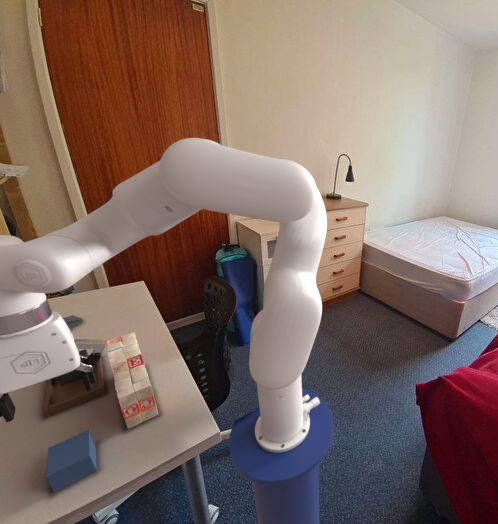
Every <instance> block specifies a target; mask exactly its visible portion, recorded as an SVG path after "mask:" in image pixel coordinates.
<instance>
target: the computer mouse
mask: <svg viewBox="0 0 498 524" xmlns="http://www.w3.org/2000/svg"><path fill="white" fill-rule="evenodd" d="M62 318H63V320H64V321H65V323H66V324H67V326H68V328H69V329H70V330H71V329H73V328H76V327H77V326H79V325H80V324H82V323H83V321H84V320H83V318H82V317H80V316H75V315H70V316H66V317H62Z"/></svg>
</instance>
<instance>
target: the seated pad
mask: <svg viewBox="0 0 498 524" xmlns="http://www.w3.org/2000/svg"><path fill="white" fill-rule="evenodd" d="M79 355H81V356H84V357H87V358H88V357H89V355H90V354H89V353H88V349H80V350H79ZM79 379H82V376H81V371H79V370H76V369H75V370H73V371H71V372H69V373H66V374H63V375H60V376H58V380H59V382H60V384H61V386H62V385H65V384H68V383H70V382H73V381H76V380H79Z"/></svg>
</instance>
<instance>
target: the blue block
mask: <svg viewBox="0 0 498 524" xmlns="http://www.w3.org/2000/svg"><path fill="white" fill-rule="evenodd" d="M96 448H97V446H96V442H95V440H94V437H93V435H92V433H91V431H90V429H88V430H85V431H83V432H81V433H78V434H76V435H74V436H72V437H69V438H68V439H65V440H63V441H61V442H59V443H56V444H54V445H52V446H49V447H48V449H47V459H46V469H45V477H44V478H45V479H46V481H47V483H48V485H49V486H50V488H51V490H52V492H53V493H57V492H59V491H61V490H62V489H65V488H66V487H68V486H70V485H72V484H74V483H76V482H78V481H79V480H81V479H84V478H85V477H87V476H90V475H91V474H93V473H95V472H97V471H98V467H97V466H98V465H97V449H96Z"/></svg>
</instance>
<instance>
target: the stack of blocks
mask: <svg viewBox="0 0 498 524" xmlns="http://www.w3.org/2000/svg"><path fill="white" fill-rule="evenodd" d="M104 341H105V347H106V352H107V353H106V354H107V359H108V362H109V366H110V369H111V372H112V375H113V380H114V390H115V394H116V396H117V401H118V404H119V406H120V411H121V414H122V417H123V420H124V422H125V425H126V428H127V430H129V429H131V428H133V427H136V426H137V425H140V424H142V423H143V422H145V421H148V420H150V419H152V418H154V417H156V416H158V415H159V410H158V406H157V401H156V398H155V393H154V390H153V387H152V383H151V380H150V377H149V374H148V371H147V368H146V365H145V362H144V358H143V355H142V352H141V348H140V346H139V342H138V340H137V335H136V332H135V331H133V332H130V333H126V334H123V335H120V336H117V337H113V338H110V339H108V340H104Z"/></svg>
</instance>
